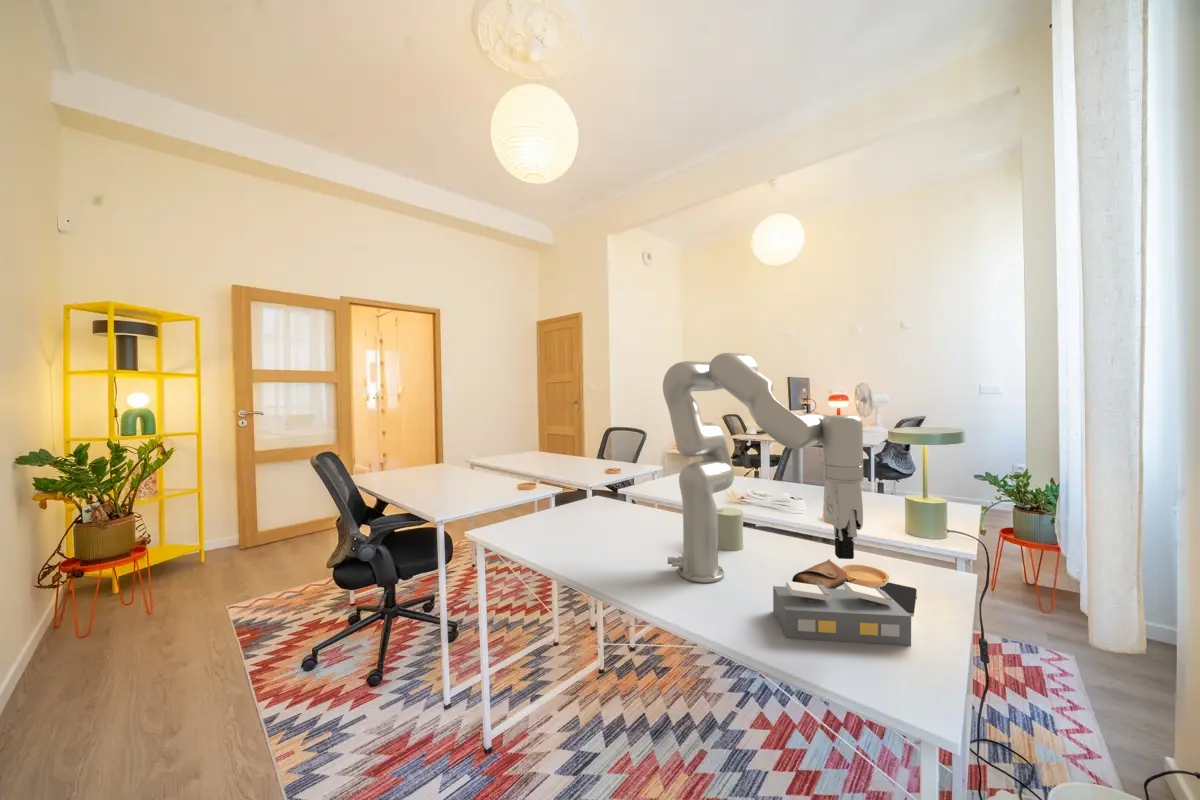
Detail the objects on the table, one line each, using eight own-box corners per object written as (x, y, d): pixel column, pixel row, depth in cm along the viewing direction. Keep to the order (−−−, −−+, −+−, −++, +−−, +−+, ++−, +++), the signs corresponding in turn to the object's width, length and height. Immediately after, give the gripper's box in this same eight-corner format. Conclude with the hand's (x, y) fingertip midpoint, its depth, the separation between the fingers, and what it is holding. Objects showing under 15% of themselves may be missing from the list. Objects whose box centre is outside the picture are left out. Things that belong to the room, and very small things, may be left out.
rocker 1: (791, 595, 95) (792, 588, 95) (786, 586, 100) (786, 580, 99) (831, 600, 94) (831, 594, 94) (823, 591, 98) (824, 585, 98)
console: (786, 638, 92) (786, 607, 92) (773, 611, 103) (773, 583, 103) (911, 646, 89) (911, 613, 89) (884, 617, 100) (884, 588, 100)
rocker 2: (851, 596, 93) (853, 589, 93) (843, 586, 98) (844, 580, 98) (891, 605, 92) (893, 599, 92) (881, 595, 97) (883, 589, 97)
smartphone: (873, 603, 105) (879, 580, 117) (873, 608, 105) (879, 584, 117) (914, 614, 100) (917, 588, 112) (914, 619, 100) (917, 593, 112)
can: (713, 540, 151) (712, 505, 151) (740, 541, 150) (740, 506, 150) (716, 550, 142) (716, 513, 142) (746, 551, 141) (745, 514, 140)
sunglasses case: (823, 597, 110) (810, 569, 112) (800, 602, 115) (788, 575, 117) (857, 578, 120) (844, 553, 123) (835, 583, 125) (823, 559, 128)
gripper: (813, 466, 103) (814, 544, 103) (837, 479, 88) (838, 570, 88) (848, 466, 102) (849, 545, 102) (878, 479, 87) (879, 572, 87)
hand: (844, 557), depth 95 cm, fingers closed
